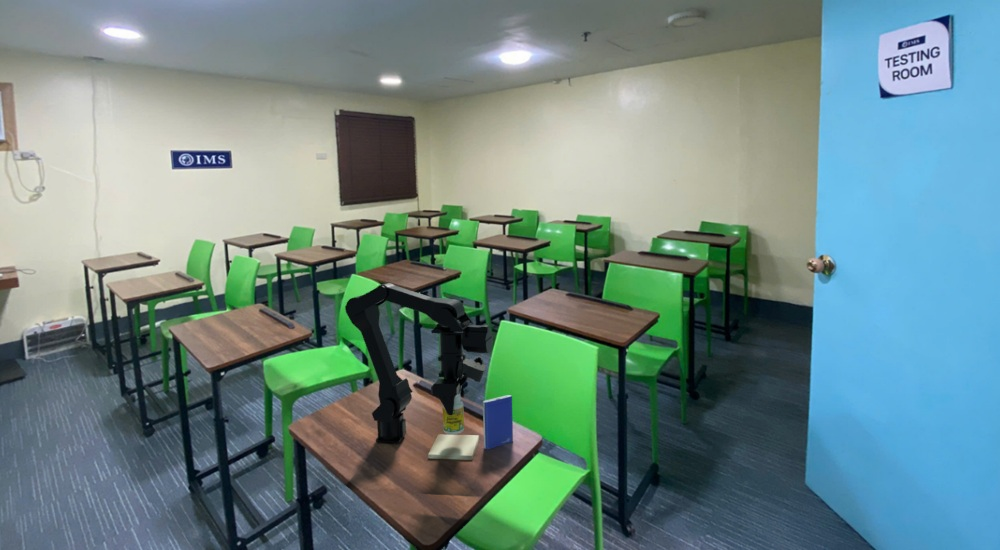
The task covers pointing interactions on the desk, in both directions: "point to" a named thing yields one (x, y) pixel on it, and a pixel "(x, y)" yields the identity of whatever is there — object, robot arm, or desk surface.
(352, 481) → the desk surface
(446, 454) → the birch board
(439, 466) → the desk surface
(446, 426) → the supplement bottle
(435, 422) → the desk surface
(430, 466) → the desk surface
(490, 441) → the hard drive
